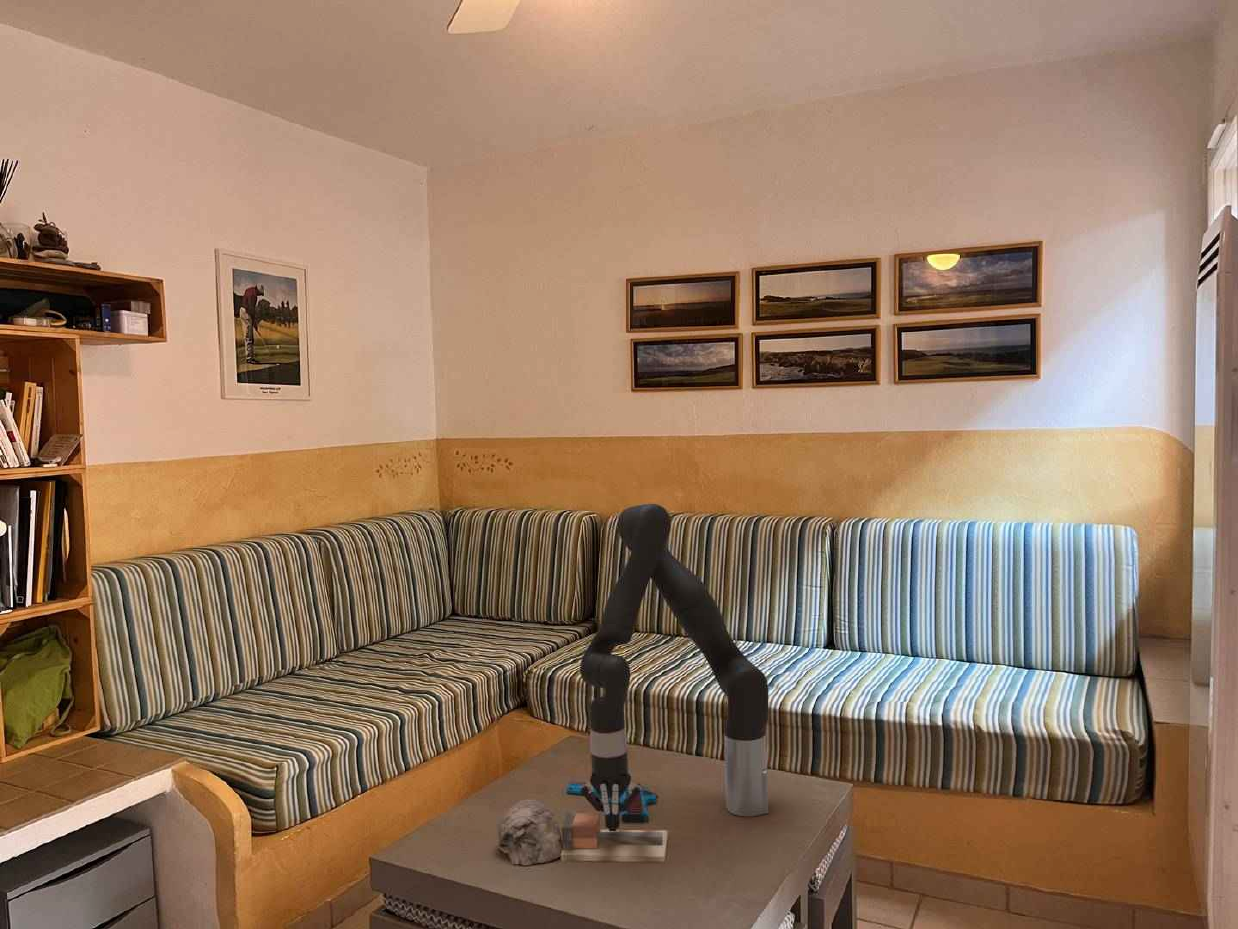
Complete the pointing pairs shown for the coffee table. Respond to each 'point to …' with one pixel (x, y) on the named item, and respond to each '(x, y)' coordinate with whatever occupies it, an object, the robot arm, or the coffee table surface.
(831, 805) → the coffee table surface
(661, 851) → the rail board
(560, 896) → the coffee table surface
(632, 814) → the handgun
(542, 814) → the rock
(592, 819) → the slider block
